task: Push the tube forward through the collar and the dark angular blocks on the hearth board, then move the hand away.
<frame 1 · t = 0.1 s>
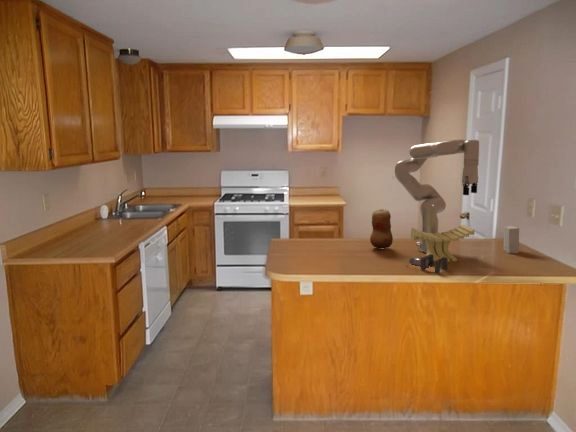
hand: (469, 193, 251), 37 cm above the table, tool pointing down, fingers open, 9 cm apart
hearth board: (425, 268, 242), on the table
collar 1: (426, 268, 242), resting on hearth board
tube: (419, 262, 244), point 3 cm above the table, slide at 0.0 cm
dark angular blocks 2: (440, 271, 236), resting on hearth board
butternut squash: (381, 249, 284), on the table
skincare box: (510, 252, 267), on the table
bread basket: (441, 258, 260), on the table
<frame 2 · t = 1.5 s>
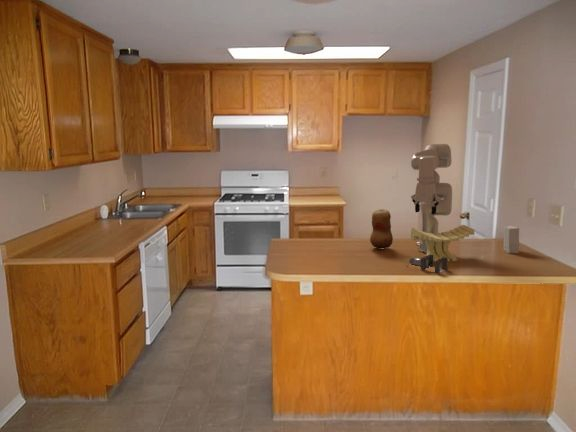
hand: (425, 212, 241), 29 cm above the table, tool pointing down, fingers open, 9 cm apart
nothing on the table moved.
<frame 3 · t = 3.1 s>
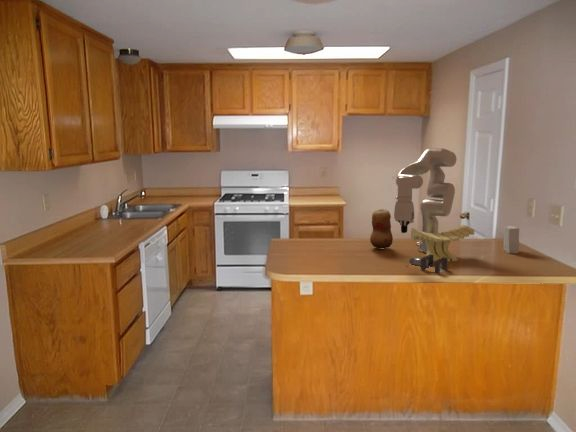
hand: (404, 232, 248), 18 cm above the table, tool pointing down, fingers closed
nothing on the table moved.
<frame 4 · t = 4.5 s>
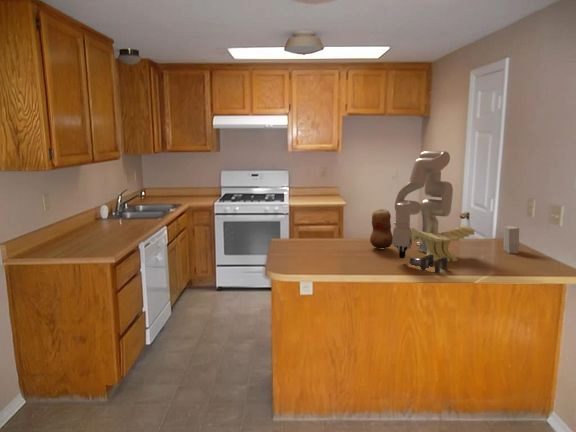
hand: (402, 257, 251), 4 cm above the table, tool pointing down, fingers closed
nothing on the table moved.
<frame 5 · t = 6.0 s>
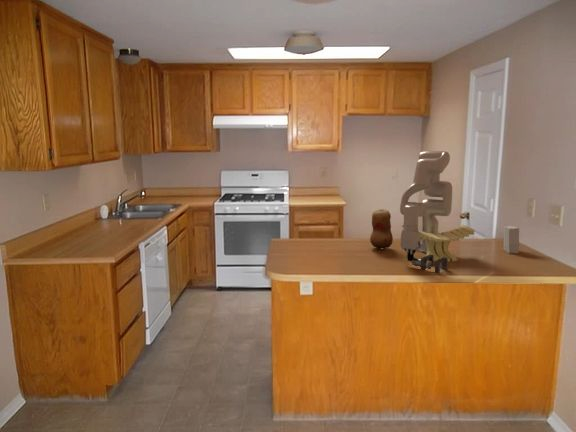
hand: (410, 260, 248), 3 cm above the table, tool pointing down, fingers closed
tube: (421, 263, 243), point 3 cm above the table, slide at 1.4 cm, touching gripper
everything else where it was.
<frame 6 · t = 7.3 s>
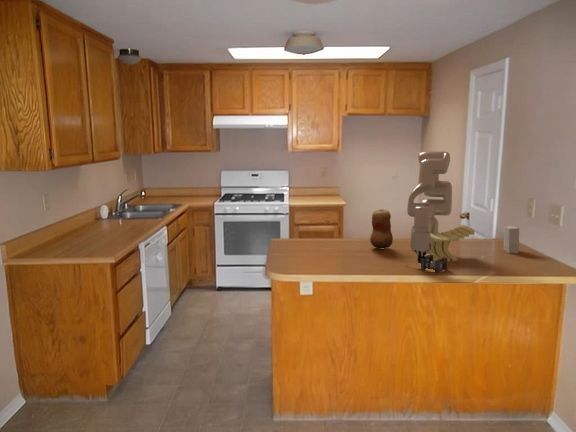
hand: (420, 262, 244), 3 cm above the table, tool pointing down, fingers closed
tube: (432, 265, 239), point 3 cm above the table, slide at 7.8 cm
everything else where it was.
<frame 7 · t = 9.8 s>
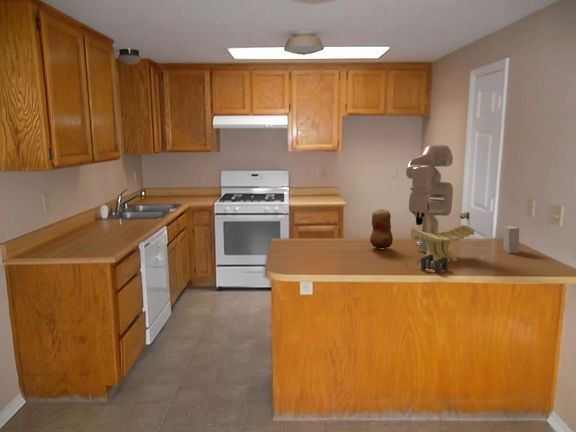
hand: (419, 224, 242), 23 cm above the table, tool pointing down, fingers closed
nothing on the table moved.
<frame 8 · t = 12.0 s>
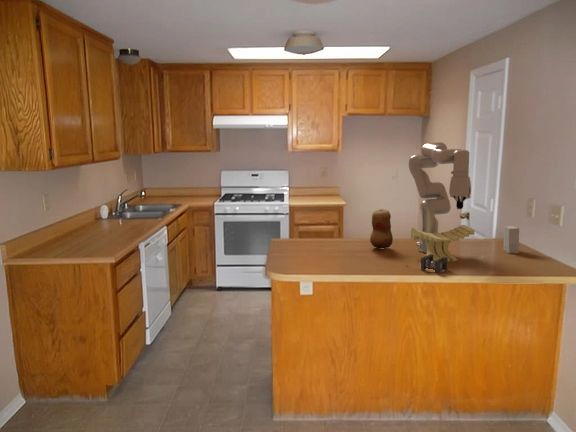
hand: (459, 208, 240), 31 cm above the table, tool pointing down, fingers closed
nothing on the table moved.
at the end: tube slide at 7.8 cm; the gripper is holding nothing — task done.
